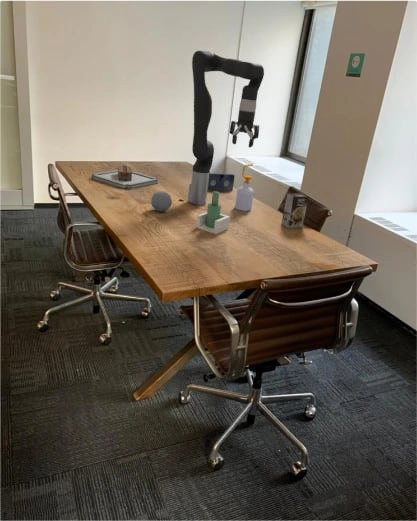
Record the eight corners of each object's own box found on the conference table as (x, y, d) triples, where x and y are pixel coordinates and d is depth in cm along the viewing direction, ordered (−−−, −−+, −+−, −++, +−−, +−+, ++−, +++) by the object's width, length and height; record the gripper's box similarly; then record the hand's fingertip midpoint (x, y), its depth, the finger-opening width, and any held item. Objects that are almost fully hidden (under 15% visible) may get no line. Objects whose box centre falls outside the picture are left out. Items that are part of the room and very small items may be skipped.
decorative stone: (159, 206, 229) (161, 187, 225) (174, 212, 224) (176, 192, 220) (146, 210, 221) (147, 190, 217) (161, 215, 216) (163, 195, 212)
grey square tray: (160, 184, 274) (161, 172, 271) (126, 191, 250) (127, 178, 247) (124, 173, 288) (124, 161, 285) (88, 179, 264) (89, 166, 261)
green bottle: (203, 225, 206) (207, 191, 200) (209, 223, 211) (213, 189, 205) (214, 228, 203) (218, 194, 197) (221, 226, 208) (225, 192, 202)
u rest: (195, 227, 206) (197, 215, 203) (208, 222, 214) (210, 210, 212) (216, 234, 201) (217, 221, 198) (228, 228, 209) (230, 216, 207)
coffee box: (288, 228, 221) (294, 196, 215) (280, 224, 227) (286, 193, 220) (302, 227, 226) (309, 196, 219) (295, 223, 231) (301, 192, 224)
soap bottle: (250, 212, 239) (257, 166, 230) (233, 209, 241) (240, 163, 231) (251, 207, 247) (259, 163, 238) (235, 205, 249) (242, 161, 239)
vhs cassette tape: (231, 189, 280) (233, 174, 276) (232, 191, 278) (235, 175, 274) (203, 188, 274) (205, 172, 270) (205, 190, 272) (207, 174, 268)
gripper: (264, 112, 205) (258, 147, 212) (237, 107, 212) (232, 142, 218) (257, 112, 199) (251, 149, 206) (230, 107, 206) (225, 143, 212)
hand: (242, 145), depth 212 cm, fingers open, 8 cm apart
